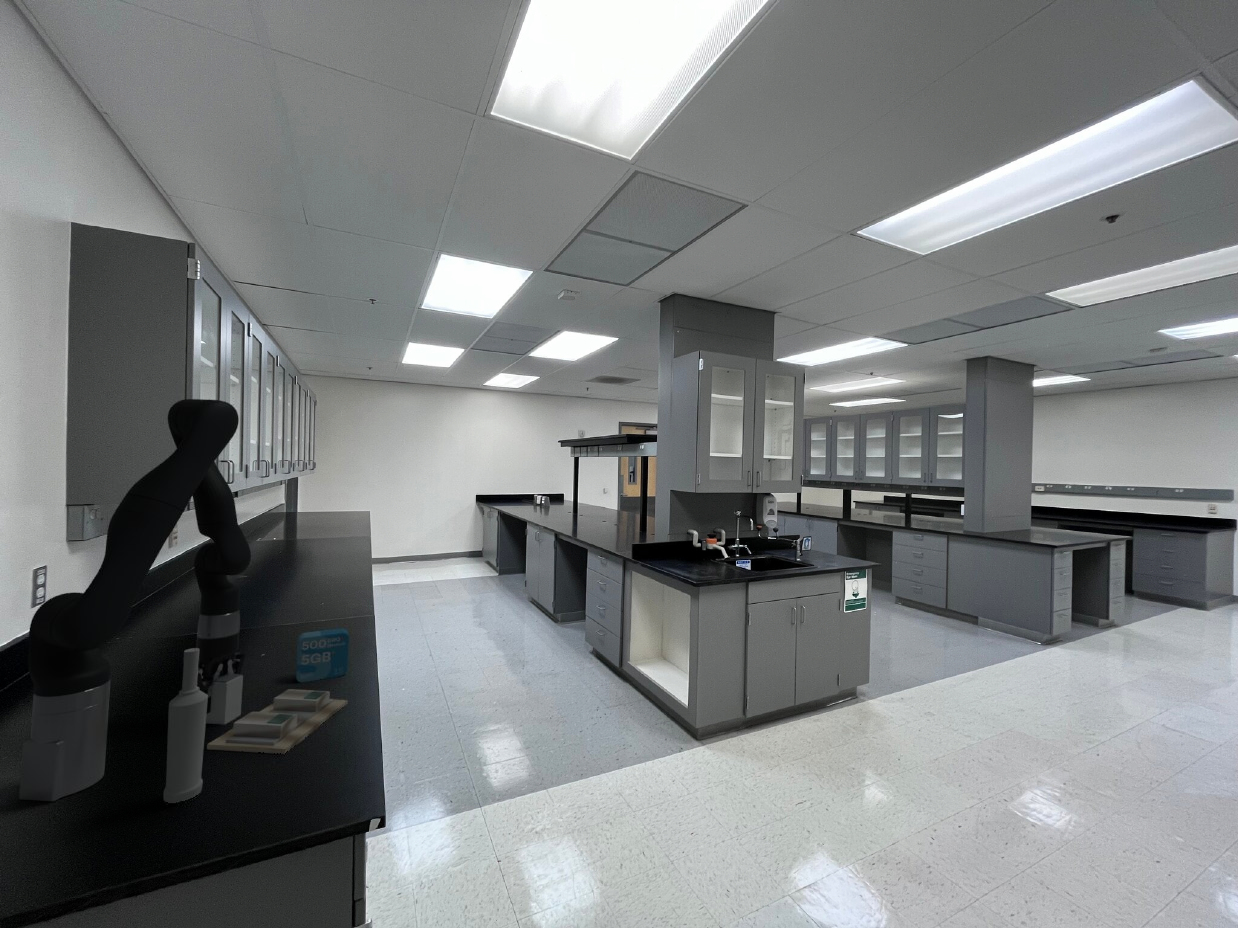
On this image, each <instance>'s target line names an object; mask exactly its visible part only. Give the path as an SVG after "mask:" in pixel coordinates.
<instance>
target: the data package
mask: <svg viewBox="0 0 1238 928" xmlns="http://www.w3.org/2000/svg"><path fill="white" fill-rule="evenodd" d="M348 632H349V631H348V630H347V629H346V628H334V629H328V630H327V629H326V630H317V631H308V632H303V633H301V634H300V635H299V636H298V638H297V646H296V649H297V651H296V664H295V666H296V669H295V676H296V677H295V678H296V680H297V682H299V683H307V682H308V683H309V682H313V681H320V679H321V680H326V679H333V678H337V677H338V676H339V677H343V676H344V675H346V674H347V672H348V671H349V670H348V669H349V668H348V667H349V650H350V649H349V647H350V635H349V633H348Z"/></svg>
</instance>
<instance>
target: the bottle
mask: <svg viewBox="0 0 1238 928" xmlns="http://www.w3.org/2000/svg"><path fill="white" fill-rule="evenodd" d="M199 661H200V658H199V648H196V647H193V648H188V649H185V650H184V651H183V670H182V684H181V685H182V686H181V690H179V692H178V694H177V695H176V696H175V697H174V698H173V699H171V700H169V703H168V718H167V719H168V722H167V723H168V725H167V747H166V749H167V750H166V751H167V752H166V775H165V776H166V779H165V788H164V790H163V802H164V801H165V802H168V803H176V802H177V803H178V802H180V801H185V800H188V799H190V798H193V797H195V796H196V795H198V794H199V793H200V794H201V792H202V789H203V784H204V783H203V782H204V780H203V778H202V770H203V759H204V758H203V757H204V747H205V734H206V725H207V723H206V713H207V701H208V695H207V694H205V693H203V692H202V691H200V690H199V687H197V676H198V664H199ZM200 794H199V795H200ZM199 795H198V796H199ZM195 798H196V797H195ZM165 802H164V803H165Z"/></svg>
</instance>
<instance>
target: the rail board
mask: <svg viewBox="0 0 1238 928" xmlns="http://www.w3.org/2000/svg"><path fill="white" fill-rule="evenodd" d="M330 693H331V692H330V691H329V690H328V691H326V690H312V689H311V690H307V689H293V688H291V689H289V688H288V689H287V690H285V691H283V692H282V693H280V694H279V695H277V696H276V697H273V703H270V705H268V706H266V707H265V708H263V709H262V710H260V711H251V712H249V713H248V714H246V715H244V716H243V717H241V718H240V719H238V720H236V721H235V722H233V727H232V728H231V729H230V730H228V731H227V732H225V733H223V734H222V735H220V736H219V737H217V738H215V739H214V740H212V741H210V742H208V743H207V745H206V750H208V751H209V750H210V751H211V750H213V751H225V752H226V751H229V752H242V751H243V753H258V752H261V753H263V752H264V753H263V754H274V753H275V754H276V755H277V753H278V755H285V753H286V752H287V751H288V752H290V751H291V750H292V749H293V748H294V746H295V745H296V746H297V745H298V744H300V743H301V742H302V741H304V740H305V739H306V738H308V737H309V736H310V735H311V734H312V733H314V730H315V731H316V730H317V729H319V728H320V727H321V726H322V725H323V724H322V723H323V722H325V721H326V720H327V719H329V717H331V716H332V715H333V714H335V713H336V712H337V711H339V710H340V709H341V708H342V707H344V706H345V705H346V704H348V703H349V700H347V699H334V698H330V695H331V694H330ZM346 706H347V705H346ZM346 706H345V707H346ZM345 707H344V708H345ZM341 710H342V709H341ZM341 710H340V711H341ZM340 711H339V712H340ZM337 713H338V712H337ZM337 713H336V714H337ZM336 714H335V715H336ZM332 717H333V716H332ZM332 717H331V718H332ZM329 720H330V719H329ZM327 721H328V720H327ZM327 721H326V722H327ZM326 722H325V723H326ZM321 724H322V725H321ZM320 725H321V726H320ZM319 726H320V727H319ZM318 727H319V728H318ZM309 734H310V735H309ZM305 737H306V738H305ZM296 746H295V747H296ZM291 748H292V749H291ZM290 749H291V750H290ZM288 752H287V753H288ZM280 753H281V754H280ZM287 753H286V754H287Z"/></svg>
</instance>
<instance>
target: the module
mask: <svg viewBox="0 0 1238 928" xmlns="http://www.w3.org/2000/svg"><path fill="white" fill-rule="evenodd" d="M243 680H244V675H242V674H241V673H240V674H235V673H234V674H229V675H228V674H226V675H224V676H220V677H219V678H218V680H217V681H216V682H215V685H214V686H212V694H211V711H210V713H208V714H206V724H210V725H227V724H228V723H230V722H231V721H234V719H237V718H238V717H240V716H241V715H242V698H243V686H244V685H243V683H244V681H243ZM204 681H207V682H210V681H211V680H209V679H205V680H204ZM206 690H207V686H205V685H204V691H206Z"/></svg>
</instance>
